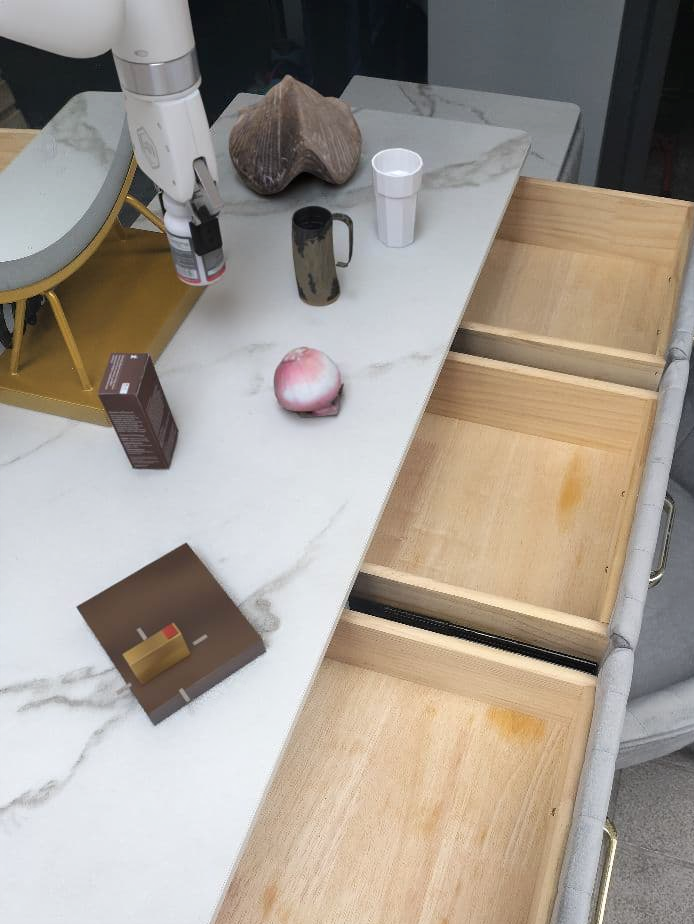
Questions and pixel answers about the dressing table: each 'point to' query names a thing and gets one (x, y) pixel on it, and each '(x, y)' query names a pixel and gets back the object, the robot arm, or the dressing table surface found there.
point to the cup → (396, 194)
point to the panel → (192, 611)
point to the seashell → (294, 138)
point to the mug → (317, 254)
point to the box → (138, 410)
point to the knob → (157, 653)
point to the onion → (308, 383)
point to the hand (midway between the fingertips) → (193, 235)
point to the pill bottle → (190, 246)
